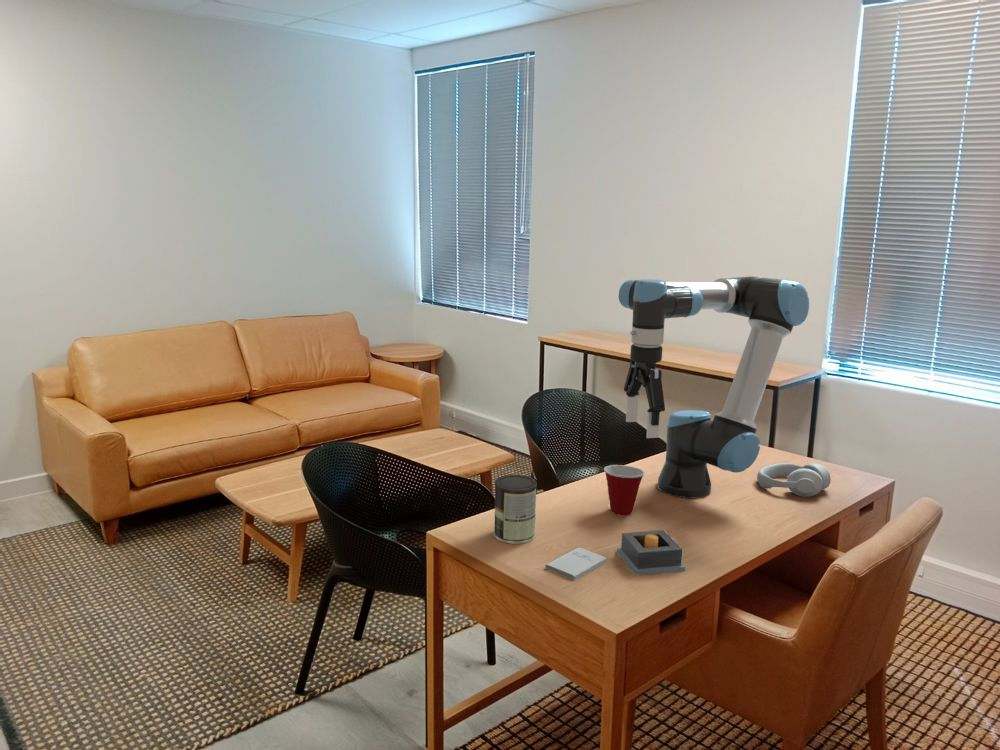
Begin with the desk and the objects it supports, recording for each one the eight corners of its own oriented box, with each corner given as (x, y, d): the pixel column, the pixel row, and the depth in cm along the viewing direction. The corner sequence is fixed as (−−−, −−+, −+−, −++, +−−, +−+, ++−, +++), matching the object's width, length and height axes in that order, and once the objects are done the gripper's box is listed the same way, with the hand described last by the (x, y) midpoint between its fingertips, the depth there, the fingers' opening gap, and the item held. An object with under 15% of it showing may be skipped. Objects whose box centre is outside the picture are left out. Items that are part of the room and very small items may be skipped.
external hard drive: (545, 570, 177) (577, 552, 186) (574, 582, 172) (606, 563, 181) (545, 563, 177) (577, 546, 186) (574, 575, 172) (606, 557, 181)
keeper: (663, 547, 189) (665, 524, 187) (685, 570, 177) (687, 546, 176) (616, 551, 186) (617, 528, 185) (635, 575, 175) (636, 550, 173)
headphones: (839, 487, 230) (774, 478, 244) (838, 461, 229) (774, 454, 243) (813, 503, 217) (747, 493, 231) (812, 476, 216) (746, 467, 230)
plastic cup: (648, 509, 212) (650, 467, 209) (633, 522, 203) (636, 479, 200) (611, 500, 217) (613, 459, 215) (595, 513, 208) (597, 471, 205)
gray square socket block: (662, 545, 188) (663, 530, 187) (681, 565, 178) (682, 549, 177) (621, 548, 185) (622, 533, 184) (637, 569, 175) (638, 552, 174)
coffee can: (485, 537, 193) (486, 483, 189) (508, 523, 201) (510, 471, 198) (520, 548, 187) (522, 492, 184) (543, 533, 195) (544, 480, 192)
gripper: (614, 335, 199) (609, 415, 203) (652, 355, 175) (646, 445, 180) (641, 335, 200) (636, 414, 205) (683, 354, 176) (677, 444, 181)
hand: (641, 429), depth 192 cm, fingers open, 13 cm apart
